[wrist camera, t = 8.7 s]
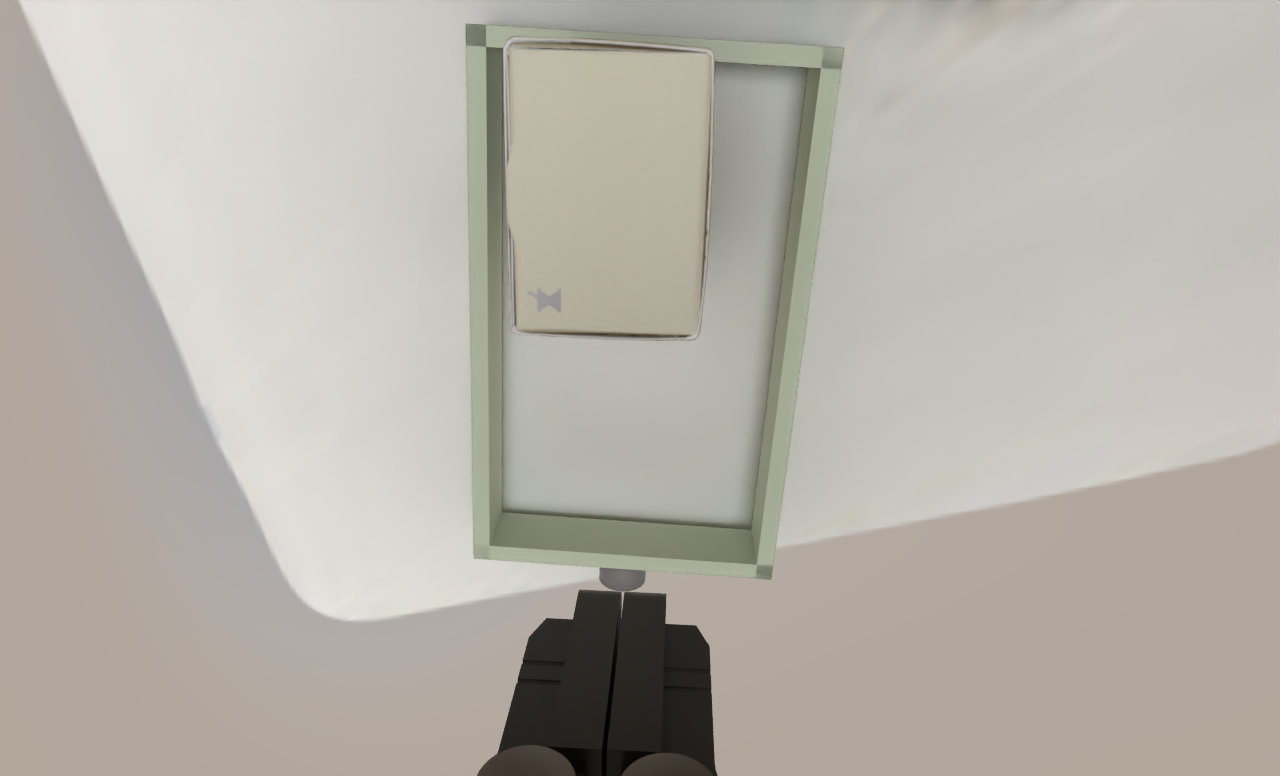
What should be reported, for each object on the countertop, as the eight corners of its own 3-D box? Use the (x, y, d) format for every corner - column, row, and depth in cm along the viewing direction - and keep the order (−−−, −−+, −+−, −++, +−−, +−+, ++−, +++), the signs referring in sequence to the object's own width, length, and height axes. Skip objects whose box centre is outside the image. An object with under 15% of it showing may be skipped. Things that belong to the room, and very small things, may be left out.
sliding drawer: (829, 48, 27) (844, 47, 25) (760, 569, 34) (767, 606, 32) (483, 27, 27) (465, 23, 25) (487, 549, 34) (474, 585, 32)
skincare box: (692, 245, 30) (704, 358, 18) (570, 241, 30) (506, 350, 18) (702, 50, 27) (723, 42, 16) (570, 46, 28) (497, 34, 16)
